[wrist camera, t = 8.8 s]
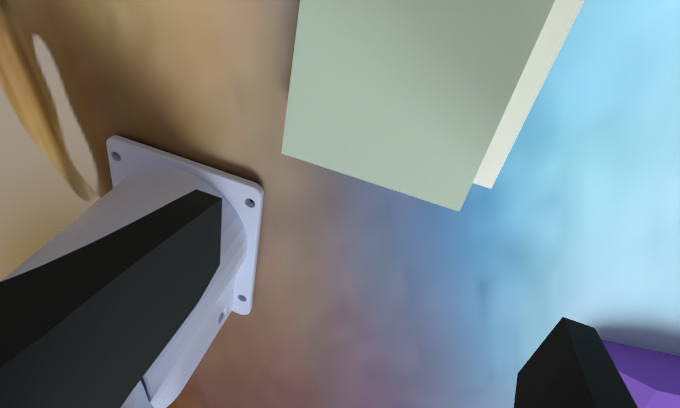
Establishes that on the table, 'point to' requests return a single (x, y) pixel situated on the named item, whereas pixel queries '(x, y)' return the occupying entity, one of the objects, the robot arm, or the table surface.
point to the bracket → (648, 375)
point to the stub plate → (528, 88)
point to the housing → (406, 88)
